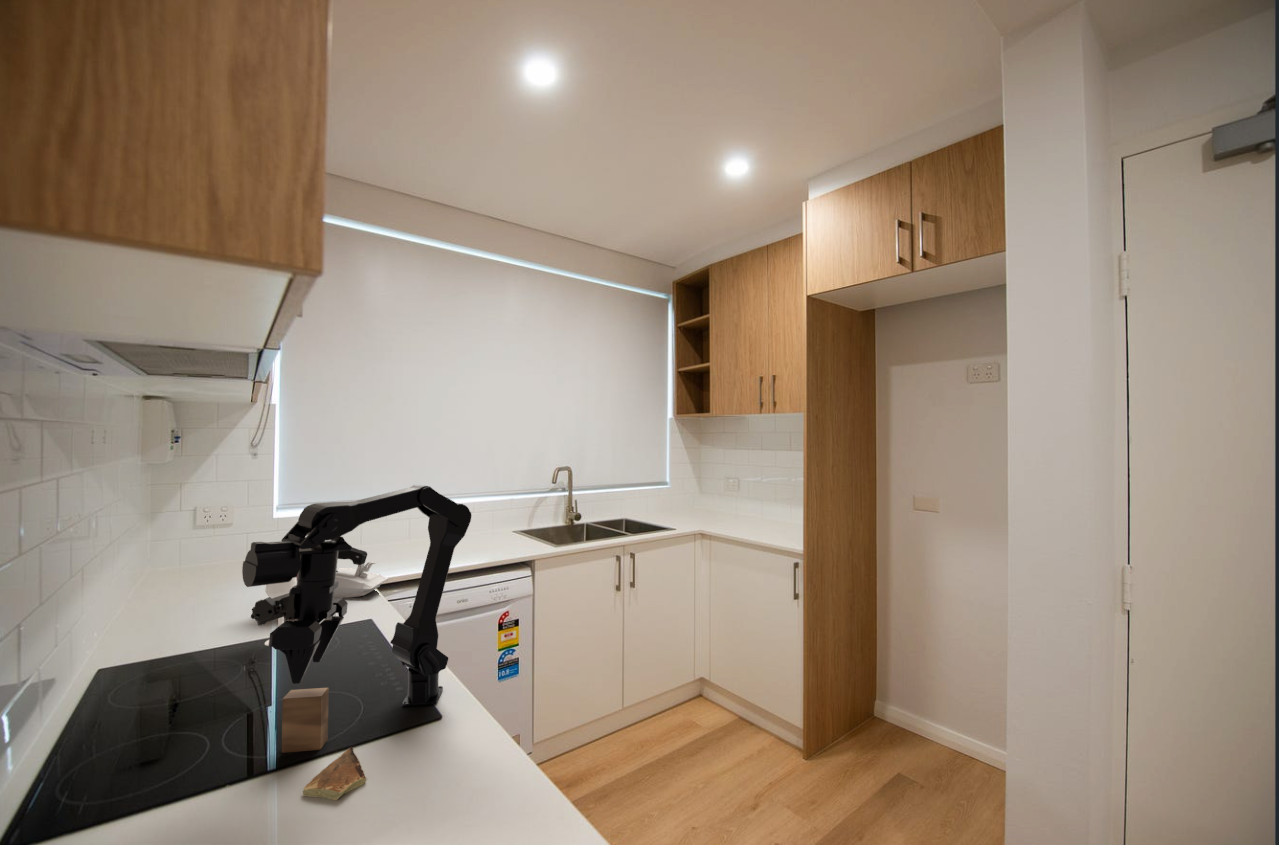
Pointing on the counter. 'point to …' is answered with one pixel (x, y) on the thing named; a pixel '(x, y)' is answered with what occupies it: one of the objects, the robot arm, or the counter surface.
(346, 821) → the counter surface
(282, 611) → the robot arm
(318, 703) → the walnut slab
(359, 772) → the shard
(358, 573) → the iron
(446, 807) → the counter surface
